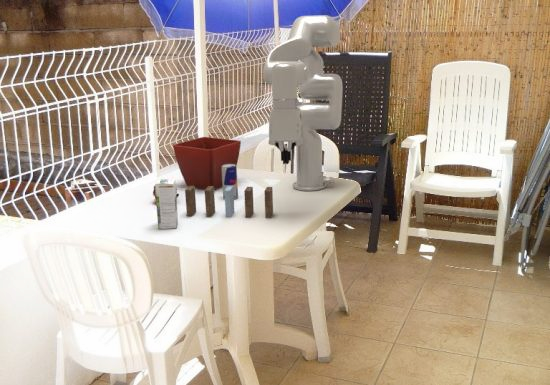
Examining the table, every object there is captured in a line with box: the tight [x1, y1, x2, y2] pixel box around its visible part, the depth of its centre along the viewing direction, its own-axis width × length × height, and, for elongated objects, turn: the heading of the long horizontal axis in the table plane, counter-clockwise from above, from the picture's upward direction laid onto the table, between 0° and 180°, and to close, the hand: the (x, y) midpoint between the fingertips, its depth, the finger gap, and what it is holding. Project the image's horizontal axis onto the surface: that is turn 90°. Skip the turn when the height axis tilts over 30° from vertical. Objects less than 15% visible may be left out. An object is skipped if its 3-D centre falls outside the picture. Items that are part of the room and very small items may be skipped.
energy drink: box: [222, 164, 239, 200], centre depth 210 cm, size 5×5×12 cm
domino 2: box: [204, 186, 216, 218], centre depth 193 cm, size 2×5×9 cm, turn 172°
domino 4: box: [244, 186, 255, 219], centre depth 191 cm, size 2×5×9 cm, turn 172°
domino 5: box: [264, 186, 274, 219], centre depth 190 cm, size 2×5×9 cm, turn 172°
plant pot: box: [172, 136, 242, 191], centre depth 227 cm, size 19×19×17 cm
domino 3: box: [224, 186, 235, 218], centre depth 192 cm, size 2×5×9 cm, turn 171°
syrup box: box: [154, 178, 179, 230], centre depth 182 cm, size 6×6×14 cm
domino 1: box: [184, 186, 197, 218], centre depth 194 cm, size 2×5×9 cm, turn 172°
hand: (286, 163), depth 185 cm, fingers closed
